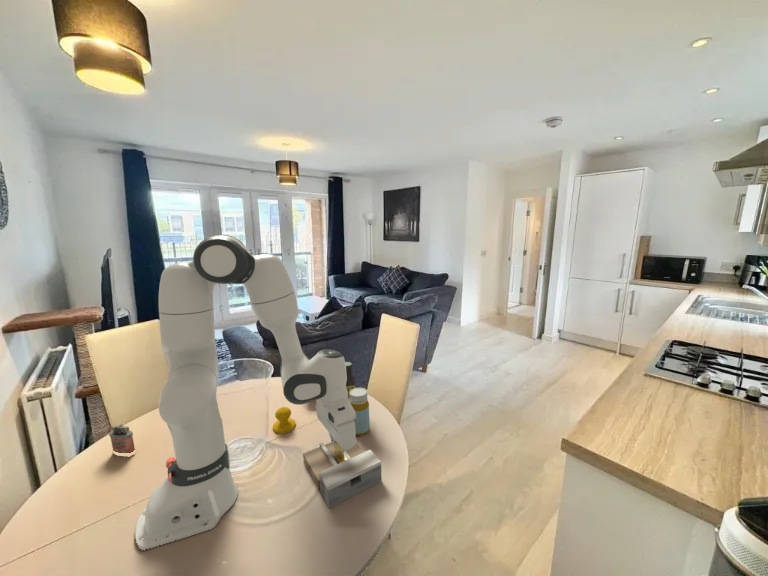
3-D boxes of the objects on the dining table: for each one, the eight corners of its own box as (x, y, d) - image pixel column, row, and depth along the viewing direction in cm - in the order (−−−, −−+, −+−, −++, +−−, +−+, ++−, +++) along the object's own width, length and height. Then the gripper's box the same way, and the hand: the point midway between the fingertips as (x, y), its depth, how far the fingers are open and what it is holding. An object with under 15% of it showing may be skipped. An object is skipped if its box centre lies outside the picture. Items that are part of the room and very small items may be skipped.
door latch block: (303, 462, 97) (302, 444, 96) (350, 442, 106) (349, 425, 104) (329, 508, 80) (327, 487, 79) (381, 481, 89) (380, 461, 88)
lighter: (109, 455, 103) (104, 427, 101) (120, 448, 106) (115, 421, 104) (128, 458, 101) (123, 430, 99) (139, 451, 104) (134, 424, 102)
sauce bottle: (340, 416, 121) (337, 368, 117) (338, 408, 127) (335, 361, 123) (357, 413, 123) (355, 366, 119) (354, 405, 129) (352, 359, 125)
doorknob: (278, 436, 110) (269, 426, 116) (299, 427, 115) (289, 418, 121) (276, 417, 109) (267, 408, 114) (297, 408, 114) (288, 400, 120)
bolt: (333, 459, 93) (332, 441, 92) (341, 456, 95) (340, 438, 94) (347, 478, 86) (346, 459, 85) (355, 474, 87) (354, 455, 86)
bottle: (367, 437, 108) (365, 397, 105) (347, 435, 109) (345, 396, 107) (371, 425, 115) (370, 387, 112) (353, 423, 116) (351, 386, 113)
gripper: (310, 392, 99) (313, 431, 101) (337, 423, 82) (340, 470, 85) (328, 386, 102) (330, 424, 105) (358, 415, 86) (360, 460, 88)
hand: (335, 445), depth 95 cm, fingers closed
